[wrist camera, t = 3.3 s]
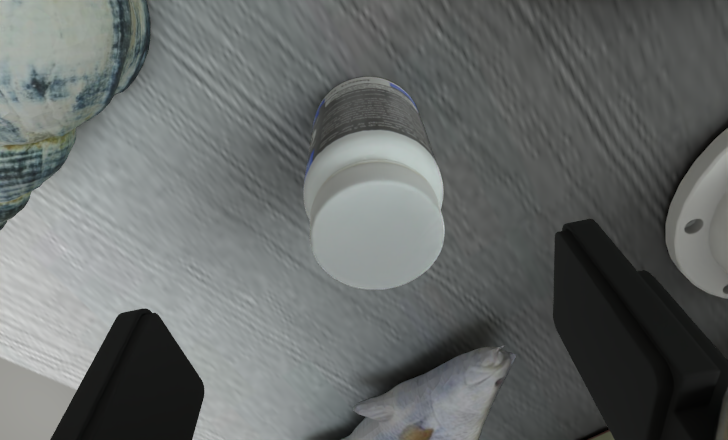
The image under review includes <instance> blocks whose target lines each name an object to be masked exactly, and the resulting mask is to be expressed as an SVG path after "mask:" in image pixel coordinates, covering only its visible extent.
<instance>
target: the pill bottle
mask: <svg viewBox="0 0 728 440" xmlns="http://www.w3.org/2000/svg"><path fill="white" fill-rule="evenodd" d="M443 193H444V190H443V181H442V177H441V173H440V170H439V167H438V164H437V162H436V160H435V157H434V154H433V152H432V148H431V145H430V142H429V139H428V137H427V133H426V131H425V128H424V125H423V123H422V120H421V117H420V115H419V112H418V110H417V107H416V105H415V103H414V102H413V100H412V98H411V97H410V96H409V95H408V94H407V93H406V92H405V91H404V90H403V89H402V88H401V87H399V86H398V85H396V84H394V83H392V82H390V81H388V80H385V79H382V78H378V77H359V78H354V79H351V80H348V81H346V82H343V83H341V84H340V85H338V86H336V87H335V88H333V89H332V90H331V91H330V92H329V93H328V94H327V95H326V96H325V98H324V99H323V100H322V102H321V103H320V105H319V107H318V109H317V112H316V115H315V118H314V122H313V128H312V136H311V140H310V148H309V156H308V162H307V168H306V174H305V180H304V187H303V197H304V205H305V210H306V213H307V216H308V218H309V220H310V244H311V248H312V252H313V254H314V257H315V259H316V261H317V262H318V264H319V265H320V266H321V268H322V269H323V270H324V271H325V272H326V273H327V274H329V275H330V276H331V277H333V278H334V279H336V280H337V281H339V282H341V283H343V284H345V285H348V286H351V287H354V288H359V289H368V290H381V289H390V288H394V287H398V286H401V285H403V284H406V283H408V282H410V281H412V280H414V279H415V278H417V277H419V276H420V275H422V274H423V273H424V272H425V271H426V270H427V269H428V268H429V267H431V265H432V264H433V263H434V262H435V260H436V259H437V257H438V255H439V254H440V251H441V249H442V246H443V243H444V235H445V226H444V220H443V216H442V213H441V207H442V202H443Z"/></svg>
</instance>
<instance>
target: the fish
mask: <svg viewBox="0 0 728 440" xmlns="http://www.w3.org/2000/svg"><path fill="white" fill-rule="evenodd" d="M504 346H505V345H503V346H501V348H502V347H504ZM501 348H499V347H482V348H478V349H475V350H473V351H470V352H468V353H464V354H462V355H459V356H457V357H455V358H453V359H451V360H449V361H447V362H446V363H443V364H441V365H440V366H438V367H436V368H435V369H433V370H431V371H429V372H427V373H425V374H423V375H420V376H418V377H415V378H412V379H410V380H407V381H405V382H402V383H400V384H399V385H397V386H395V387H394V388H393V389H391V390H390V391H389V392H387V393H385V394H383V395H380V396H378V397H375V398H370V399H367V400H365V401H362V402H359V403H358V404H356V405H355V406H354V408H353V410H354V411H355V412H356V413H358V414H359V415H362V416H366V418H365V419H364V420H363V421H362V422H361V423H360V424H359V425H358V426H357V427H356V428H355V430H354V431H353V432H352V434H351V435H349V436H348V437H346V438H343V439H340V440H479V437H480V434H481V431H482V427H483V425H484V422H485V420H486V418H487V415H488V413H489V411H490V408H491V406H492V404H493V402H494V400H495V397H496V395H497V393H498V391H499V389H500V387H501V385H502V384H503V381H504V380H505V378H506V376H507V374H508V372H509V370H510V367H511V365H512V363H513V362H514V360H515V357H516V355H515V354H513V353H511V352H506V351H504V350H501Z"/></svg>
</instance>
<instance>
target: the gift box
mask: <svg viewBox="0 0 728 440" xmlns="http://www.w3.org/2000/svg"><path fill="white" fill-rule="evenodd" d="M588 440H614V438H613V436H612V434H611V432H610V430H607V431H605V432H603V433H601V434H599V435H596V436H594V437H592V438H590V439H588Z"/></svg>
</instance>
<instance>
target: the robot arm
mask: <svg viewBox="0 0 728 440" xmlns="http://www.w3.org/2000/svg"><path fill="white" fill-rule="evenodd" d="M665 228H666V245H667V248H668V252H669V255H670V258H671V259H672V261H673V262H674V264H675V265H676V267H677V268H678V270H679V271H680V272H681V273H682V274H683V275H684V276H685V277H686V278H687V279H688V280H689V281H690V282H691V283H692V284H693V285H695V286H696V287H698V288H700V289H701V290H703V291H705V292H706V293H709V294H712V295H715V296H718V297H721V298H726V299H728V128H727V129H726V130H725V131H723V132H722V133H721V134H720V135H719V136H718V137H716V138H715V139H714V140H713V142H712V143H711V144H710V145H709V146H708V147H707V148H706V149H705V150H704V152H703V153H702V154H701V155H700V156H699V157H698V158H697V159H696V160H695V162H694V163H693V165H692V166H691V168H690V169H689V171H688V172H687V174H686V175H685V176H684V178H683V179H682V181H681V182H680V184H679V186H678V189H677V191H676V193H675V195H674V197H673V199H672V202H671V204H670V207H669V212H668V216H667V220H666V224H665ZM553 318H554V323H555V326H556V329H557V331H558V334H559V335H560V337H561V339H562V341H563V343H564V345H565V347H566V349H567V351H568V352H569V354H570V356H571V358H572V360H573V362H574V364H575V366H576V368H577V370H578V371H579V373H580V375H581V377H582V379H583V381H584V383H585V385H586V387H587V388H588V390H589V392H590V394H591V396H592V398H593V400H594V402H595V404H596V406H597V407H598V409H599V411H600V413H601V415H602V417H603V419H604V421H605V423H606V424H607V426H608V428H609V430H610V432H611V434H612V436H613V438H614V440H728V361H727V360H726V359H725V357H724V356H723V355H722V354H721V353H720V352H719V351H718V349H717V348H716V347H715V346H714V345H713V344H712V343H711V341H710V340H709V339H708V338H707V337H706V336H705V335H704V333H703V332H702V331H701V330H700V329H699V328H698V327H697V325H696V324H695V323H694V322H693V321H692V320H691V318H690V317H689V316H688V315H687V314H686V313H685V312H684V310H683V309H682V308H681V307H680V306H679V305H678V304H677V302H676V301H675V300H674V299H673V298H672V297H671V296H670V294H669V293H668V292H667V291H666V290H665V289H664V288H663V286H662V285H661V284H660V283H659V282H658V281H657V280H656V278H655V277H654V276H652V275H651V274H650V273H649V272H647V271H644V270H643V271H636V269H635V268H634V267H633V266H632V265H631V263H630V262H629V261H628V260H627V259H626V257H625V256H624V255H623V254H622V253H621V251H620V250H619V249H618V248H617V247H616V246H615V244H614V243H613V242H612V241H611V240H610V238H609V237H608V236H607V235H606V234H605V232H604V231H603V230H602V229H601V228H600V226H599V225H598V224H597V223H596V222H595V221H594V220H593V219H587V220H582V221H577V222H572V223H567V224H564V226H563V229H562V231H561V232H557V233H556V234H555V260H554V304H553ZM203 398H204V385H203V382H202V380H201V378H200V377H199V375H198V374H197V372H196V371H195V369H194V368H193V366H192V365H191V363H190V362H189V360H188V359H187V357H186V356H185V354H184V353H183V351H182V350H181V348H180V347H179V345H178V344H177V342H176V341H175V339H174V338H173V336H172V335H171V333H170V332H169V330H168V329H167V327H166V326H165V324H164V323H163V321H162V320H161V318H160V317H159V315H158V314H156V313H152V312H151V311H150V310H148V309H139V310H134V311H129V312H124V313H121V314H119V315H118V317H117V318H116V320H115V321H114V323H113V325H112V327H111V329H110V331H109V332H108V334H107V336H106V338H105V340H104V342H103V344H102V345H101V347H100V349H99V351H98V353H97V355H96V356H95V358H94V360H93V362H92V364H91V366H90V368H89V369H88V371H87V373H86V375H85V377H84V379H83V380H82V382H81V384H80V386H79V388H78V390H77V392H76V393H75V395H74V397H73V399H72V401H71V403H70V404H69V407H68V408H67V410H66V412H65V414H64V416H63V417H62V419H61V421H60V423H59V425H58V427H57V429H56V431H55V432H54V434H53V436H52V438H51V440H192V438H193V434H194V431H195V427H196V423H197V420H198V416H199V412H200V409H201V405H202V401H203Z"/></svg>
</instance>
